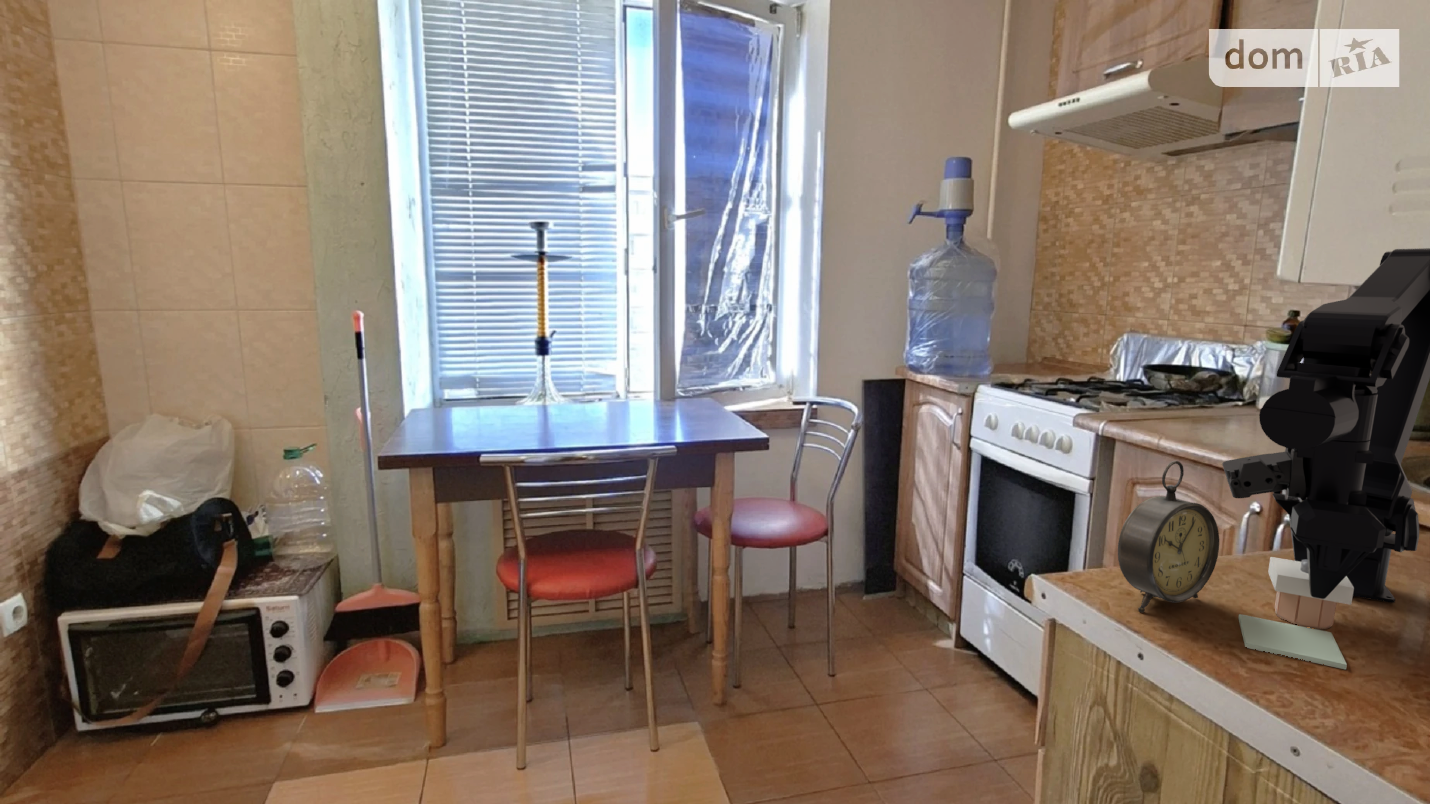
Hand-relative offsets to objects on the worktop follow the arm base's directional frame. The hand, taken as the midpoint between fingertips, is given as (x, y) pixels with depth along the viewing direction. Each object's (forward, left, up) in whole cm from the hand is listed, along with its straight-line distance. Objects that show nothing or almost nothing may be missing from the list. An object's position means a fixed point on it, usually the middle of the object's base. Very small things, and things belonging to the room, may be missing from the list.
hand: (1309, 580), depth 74 cm
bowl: (0, 0, -4) cm, 4 cm away
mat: (+7, -2, -4) cm, 9 cm away
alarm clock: (+3, -13, -4) cm, 14 cm away
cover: (0, 0, -1) cm, 1 cm away
